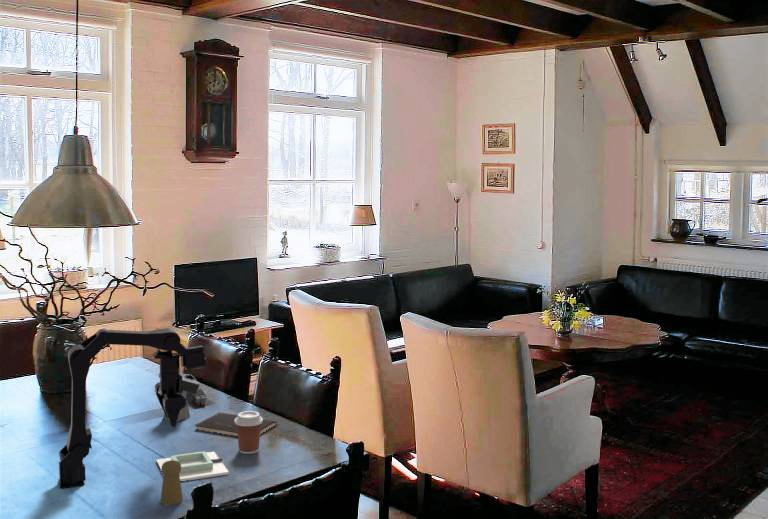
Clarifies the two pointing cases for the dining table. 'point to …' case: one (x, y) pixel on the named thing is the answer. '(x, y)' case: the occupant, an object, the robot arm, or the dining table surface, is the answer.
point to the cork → (171, 483)
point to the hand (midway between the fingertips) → (170, 422)
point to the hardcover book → (228, 424)
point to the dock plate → (197, 465)
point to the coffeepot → (183, 412)
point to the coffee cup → (248, 431)
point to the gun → (198, 396)
